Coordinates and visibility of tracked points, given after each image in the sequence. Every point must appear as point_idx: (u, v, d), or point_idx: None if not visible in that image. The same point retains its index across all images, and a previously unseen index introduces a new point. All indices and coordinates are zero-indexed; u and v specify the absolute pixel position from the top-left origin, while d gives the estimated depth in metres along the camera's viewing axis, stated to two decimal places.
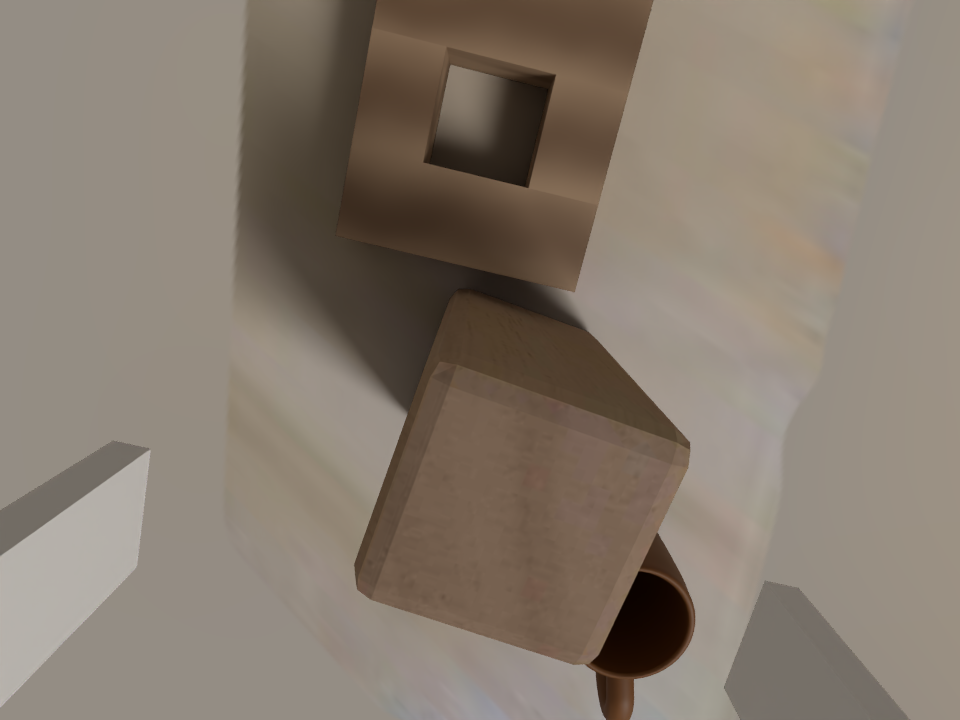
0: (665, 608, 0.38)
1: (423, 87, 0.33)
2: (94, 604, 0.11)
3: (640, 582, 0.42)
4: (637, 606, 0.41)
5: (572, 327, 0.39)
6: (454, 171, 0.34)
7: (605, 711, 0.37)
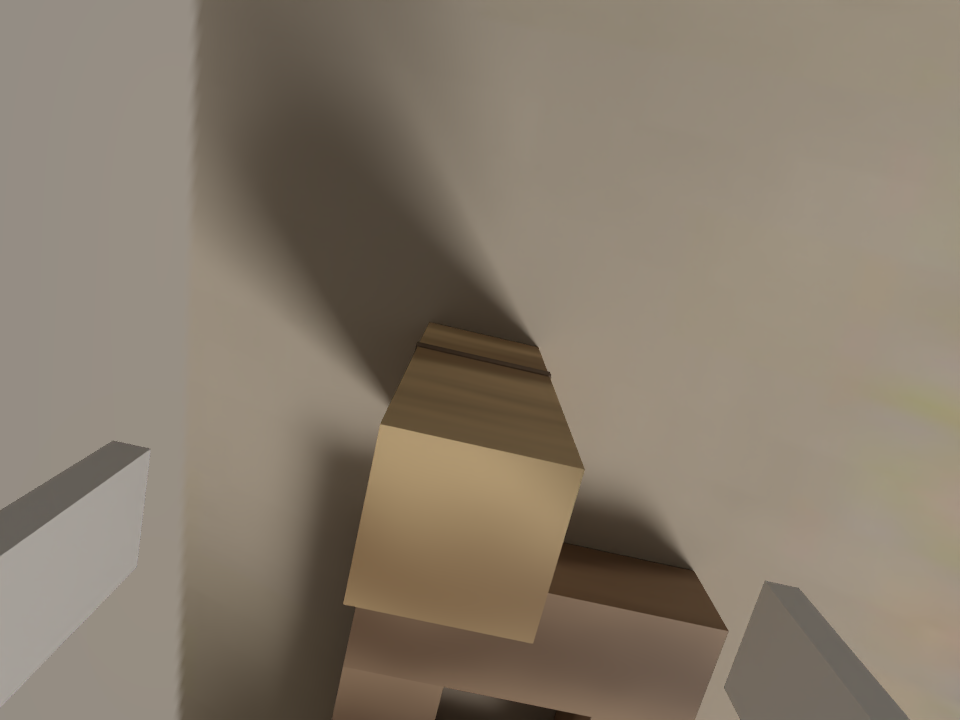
0: None
1: None
2: (94, 604, 0.11)
3: None
4: None
5: None
6: None
7: None
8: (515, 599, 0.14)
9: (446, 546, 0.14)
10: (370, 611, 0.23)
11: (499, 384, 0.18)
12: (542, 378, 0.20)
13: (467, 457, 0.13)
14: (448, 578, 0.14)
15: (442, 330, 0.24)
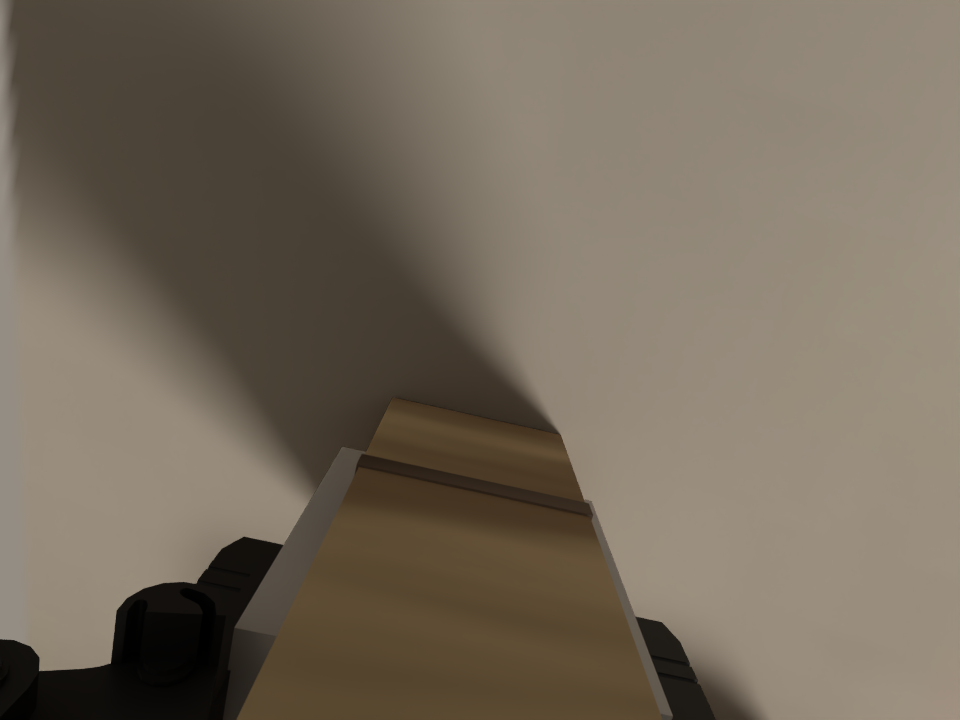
0: None
1: None
2: None
3: None
4: None
5: None
6: None
7: None
8: None
9: None
10: None
11: (504, 564, 0.09)
12: (578, 526, 0.11)
13: None
14: None
15: (411, 415, 0.15)
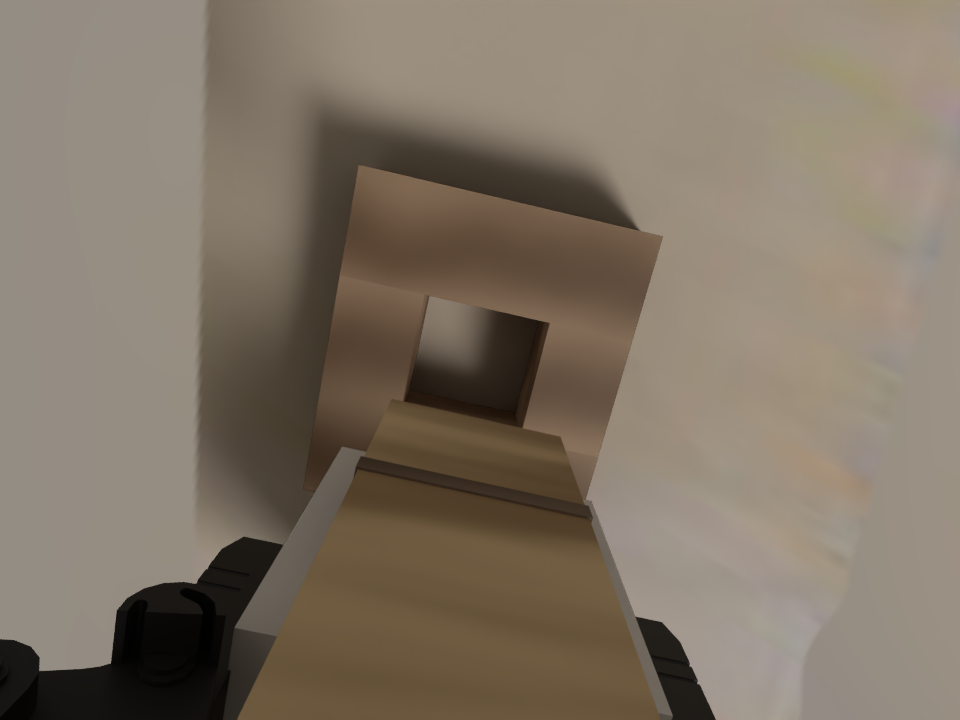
0: None
1: (399, 337, 0.29)
2: None
3: None
4: None
5: None
6: None
7: None
8: None
9: None
10: (362, 220, 0.28)
11: (503, 567, 0.09)
12: (578, 528, 0.11)
13: None
14: None
15: (410, 416, 0.15)
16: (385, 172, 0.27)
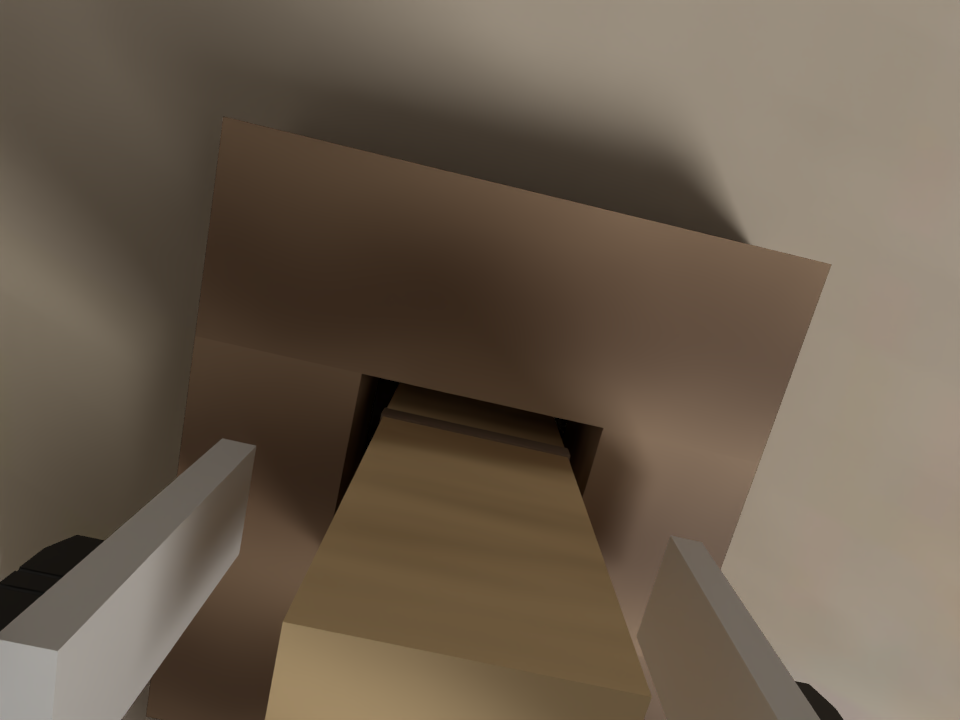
0: None
1: (315, 452, 0.15)
2: (212, 586, 0.13)
3: None
4: None
5: None
6: None
7: None
8: None
9: None
10: (235, 228, 0.14)
11: (497, 482, 0.12)
12: (557, 462, 0.14)
13: (443, 678, 0.07)
14: None
15: None
16: (278, 132, 0.13)
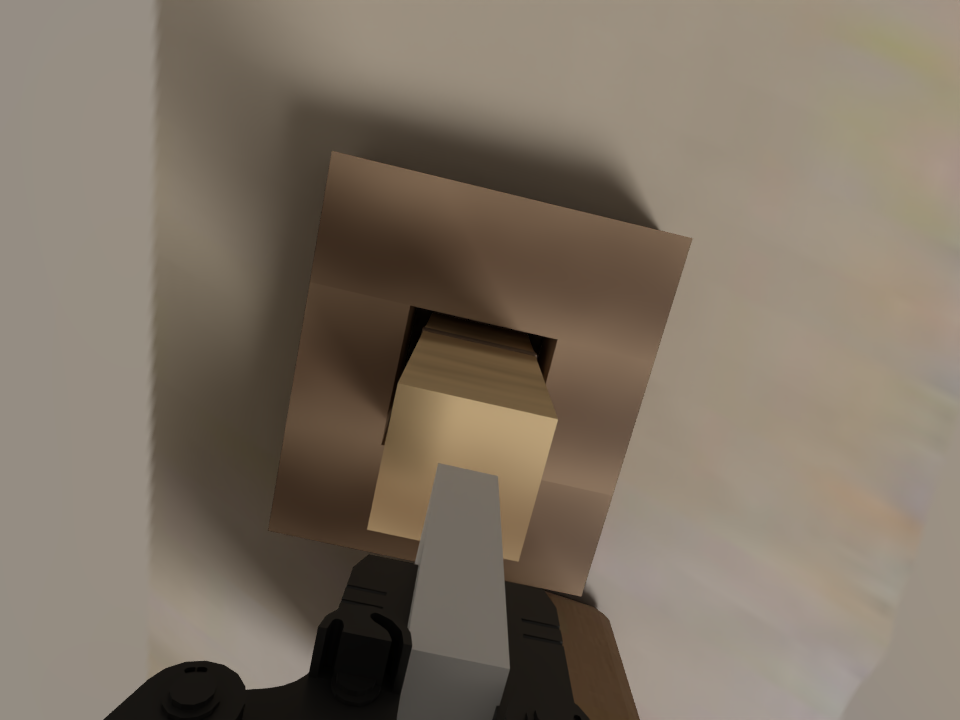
0: None
1: (380, 355, 0.25)
2: None
3: None
4: None
5: (578, 611, 0.30)
6: None
7: None
8: (504, 525, 0.18)
9: None
10: (336, 216, 0.23)
11: (492, 360, 0.22)
12: (528, 357, 0.24)
13: (466, 410, 0.17)
14: None
15: (444, 318, 0.27)
16: (363, 160, 0.23)
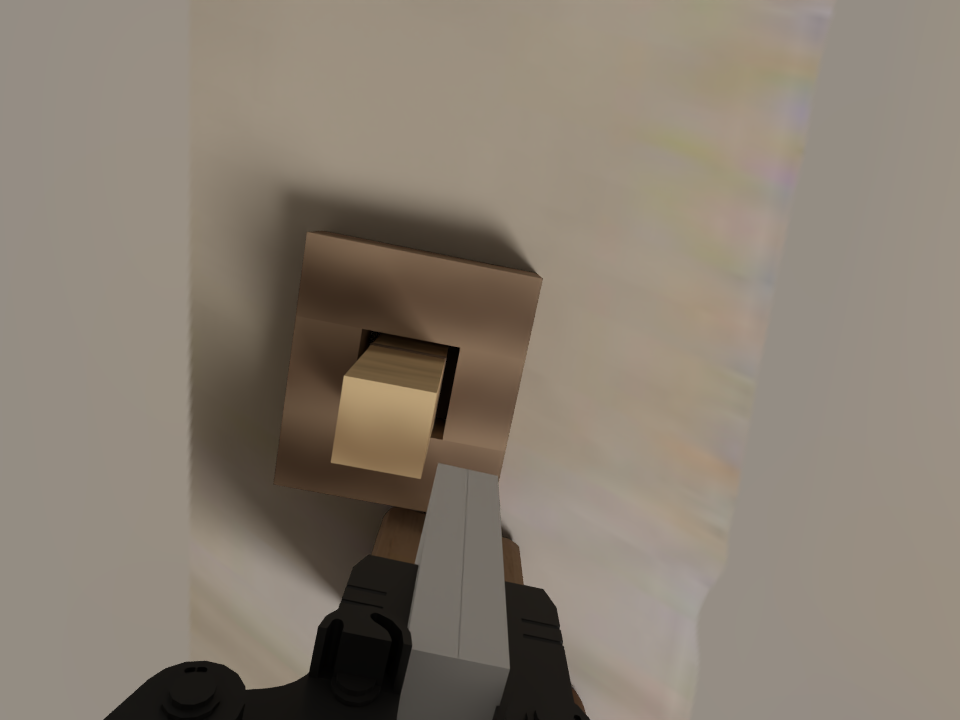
0: None
1: (344, 362, 0.37)
2: None
3: None
4: None
5: None
6: None
7: None
8: (410, 457, 0.30)
9: (376, 431, 0.30)
10: (311, 273, 0.36)
11: (411, 362, 0.35)
12: (439, 360, 0.36)
13: (384, 390, 0.30)
14: (378, 447, 0.30)
15: (389, 336, 0.40)
16: (327, 237, 0.36)
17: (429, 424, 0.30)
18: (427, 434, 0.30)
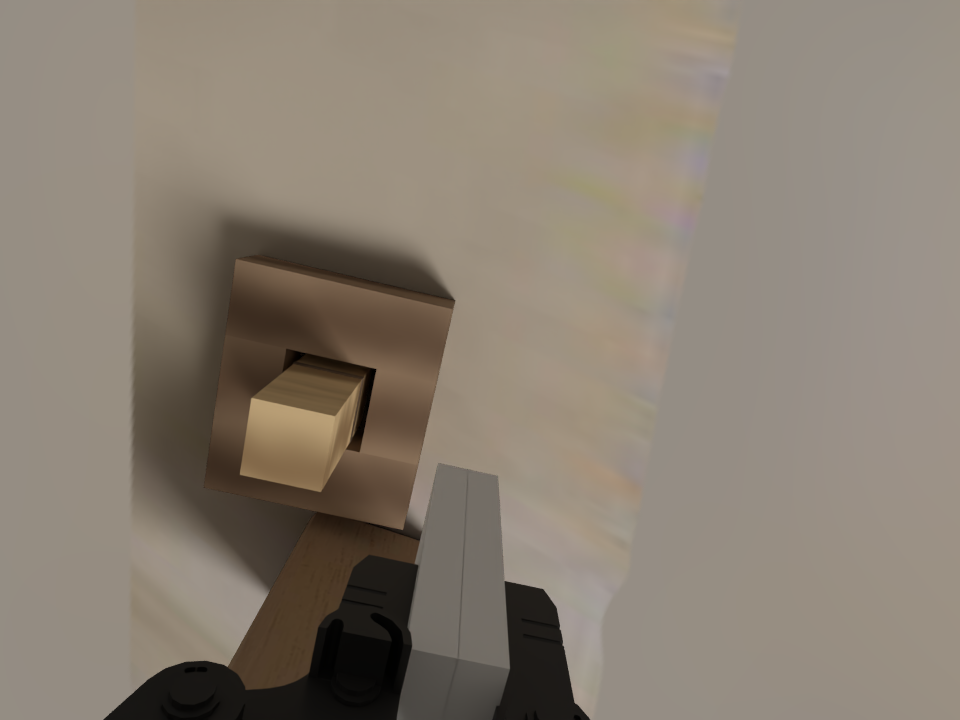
0: None
1: (269, 378, 0.41)
2: None
3: None
4: None
5: (411, 544, 0.46)
6: None
7: None
8: (311, 472, 0.34)
9: (281, 448, 0.33)
10: (239, 296, 0.39)
11: (326, 382, 0.38)
12: (355, 380, 0.40)
13: (287, 411, 0.33)
14: (283, 463, 0.34)
15: None
16: (254, 264, 0.39)
17: (328, 443, 0.33)
18: (326, 452, 0.33)
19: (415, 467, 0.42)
